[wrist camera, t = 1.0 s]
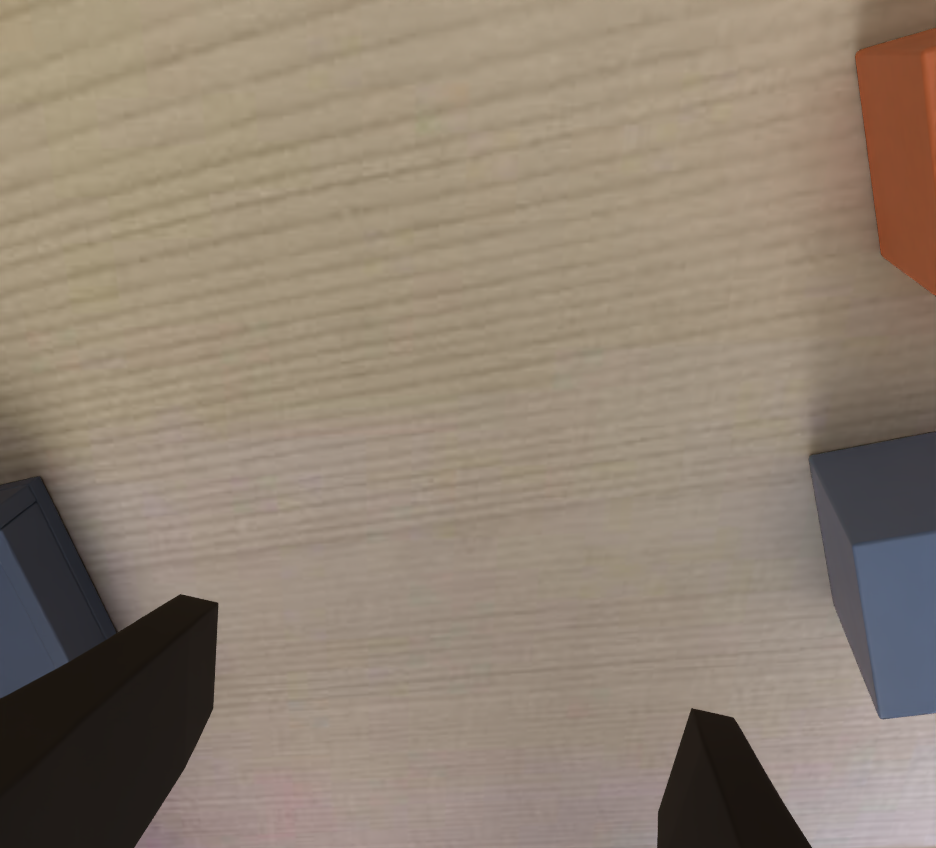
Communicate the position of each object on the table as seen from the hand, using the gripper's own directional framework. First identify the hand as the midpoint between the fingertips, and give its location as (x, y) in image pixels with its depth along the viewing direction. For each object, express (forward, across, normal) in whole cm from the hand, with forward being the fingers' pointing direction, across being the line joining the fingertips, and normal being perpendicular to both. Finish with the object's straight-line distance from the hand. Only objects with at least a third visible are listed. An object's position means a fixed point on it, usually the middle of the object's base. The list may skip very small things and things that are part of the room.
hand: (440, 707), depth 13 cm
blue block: (+8, -9, -1) cm, 12 cm away
